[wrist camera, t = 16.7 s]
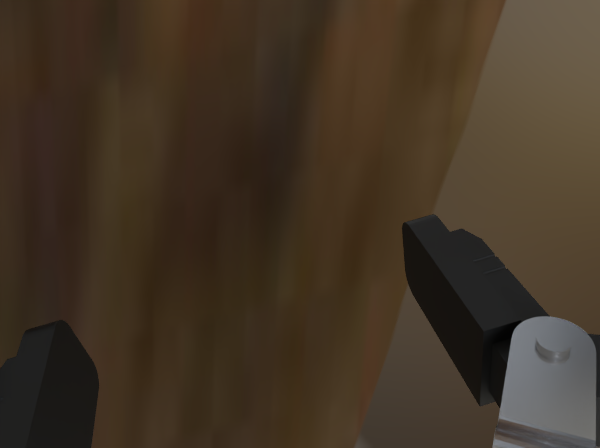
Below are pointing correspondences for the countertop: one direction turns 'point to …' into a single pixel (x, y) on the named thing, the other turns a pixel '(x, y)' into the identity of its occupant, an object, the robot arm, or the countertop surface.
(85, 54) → the countertop surface
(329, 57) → the countertop surface
